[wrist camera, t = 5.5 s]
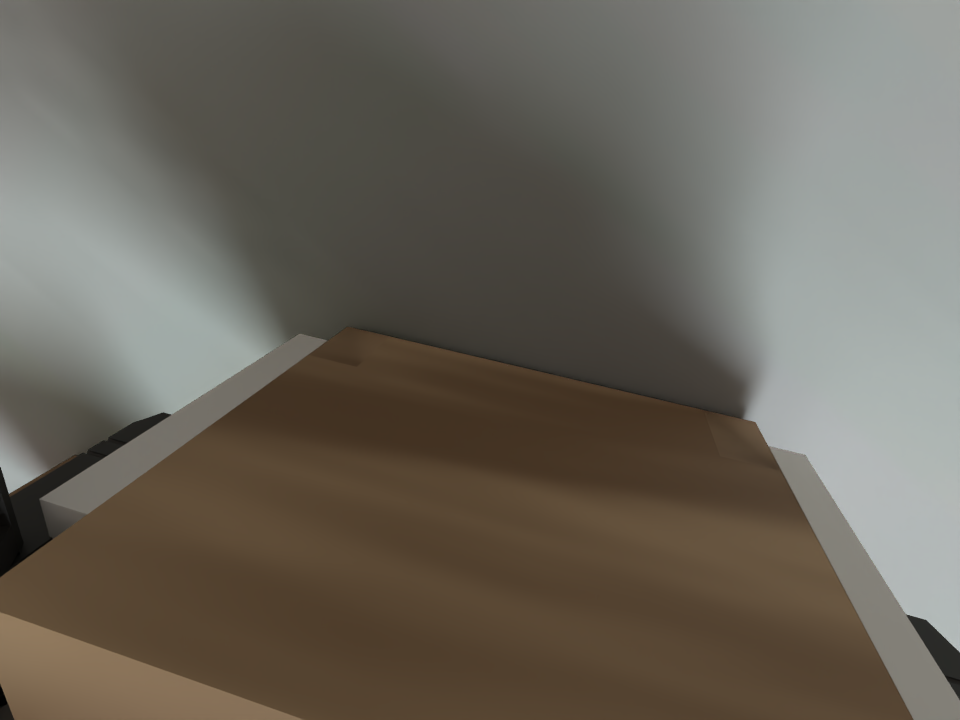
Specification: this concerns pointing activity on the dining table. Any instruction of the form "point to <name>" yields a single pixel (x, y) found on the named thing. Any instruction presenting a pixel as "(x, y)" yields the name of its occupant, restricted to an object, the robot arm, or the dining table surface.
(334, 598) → the wooden frame
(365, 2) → the dining table surface
